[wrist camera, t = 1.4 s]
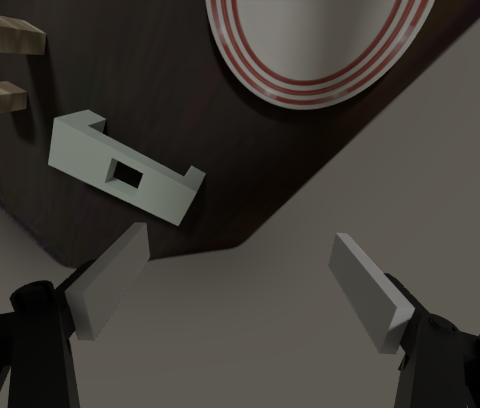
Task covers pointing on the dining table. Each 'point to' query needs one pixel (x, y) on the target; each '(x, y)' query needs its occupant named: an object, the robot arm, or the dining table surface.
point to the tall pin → (20, 37)
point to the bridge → (104, 163)
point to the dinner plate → (313, 45)
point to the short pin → (12, 97)
